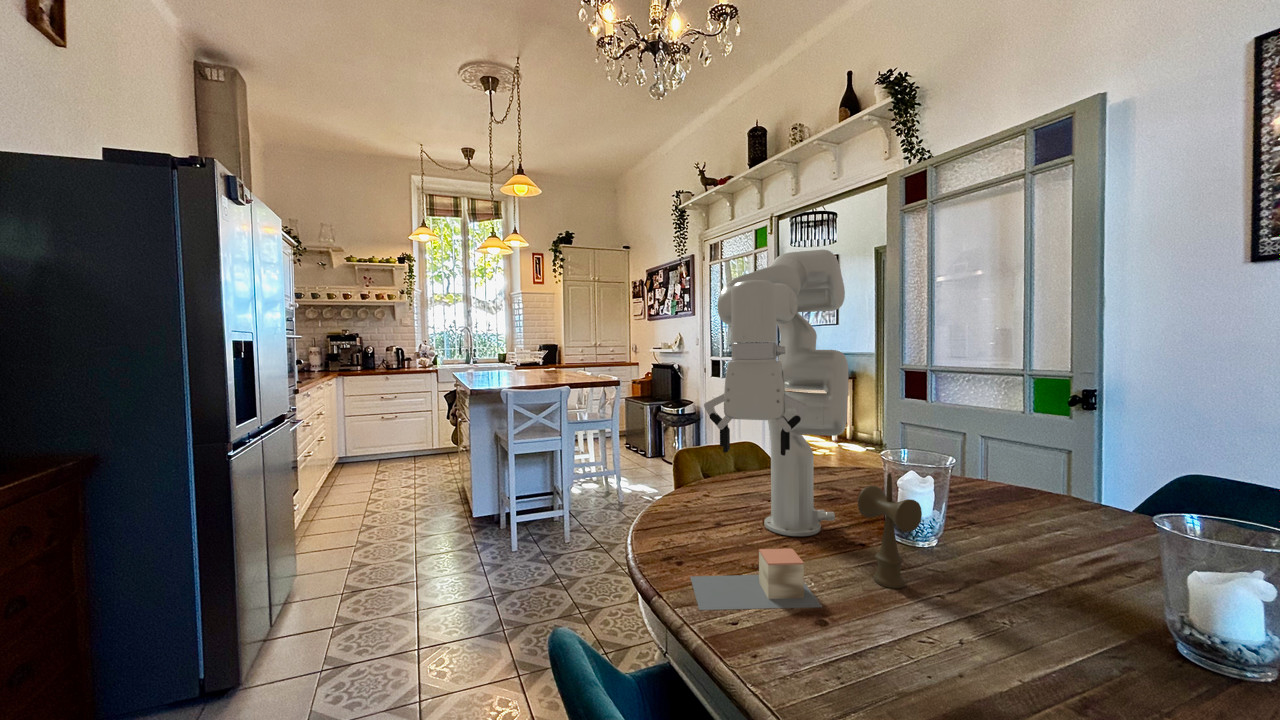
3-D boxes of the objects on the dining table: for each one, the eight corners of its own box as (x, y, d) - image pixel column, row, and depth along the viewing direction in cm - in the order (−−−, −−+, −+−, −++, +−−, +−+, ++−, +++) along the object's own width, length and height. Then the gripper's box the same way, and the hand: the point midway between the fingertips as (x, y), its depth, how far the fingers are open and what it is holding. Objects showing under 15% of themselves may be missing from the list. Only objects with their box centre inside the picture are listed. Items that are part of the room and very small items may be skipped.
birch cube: (792, 581, 93) (792, 548, 92) (803, 598, 87) (803, 562, 86) (759, 582, 92) (758, 549, 92) (768, 598, 86) (768, 563, 86)
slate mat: (797, 576, 96) (797, 573, 96) (822, 609, 84) (822, 606, 84) (690, 578, 95) (690, 576, 95) (699, 612, 83) (699, 609, 83)
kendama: (881, 570, 98) (881, 465, 97) (924, 593, 89) (925, 477, 88) (855, 575, 96) (855, 468, 95) (897, 599, 86) (898, 481, 86)
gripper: (806, 352, 90) (807, 450, 90) (707, 353, 95) (708, 445, 96) (806, 353, 83) (807, 460, 83) (699, 354, 88) (700, 454, 88)
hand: (754, 452), depth 89 cm, fingers open, 9 cm apart
